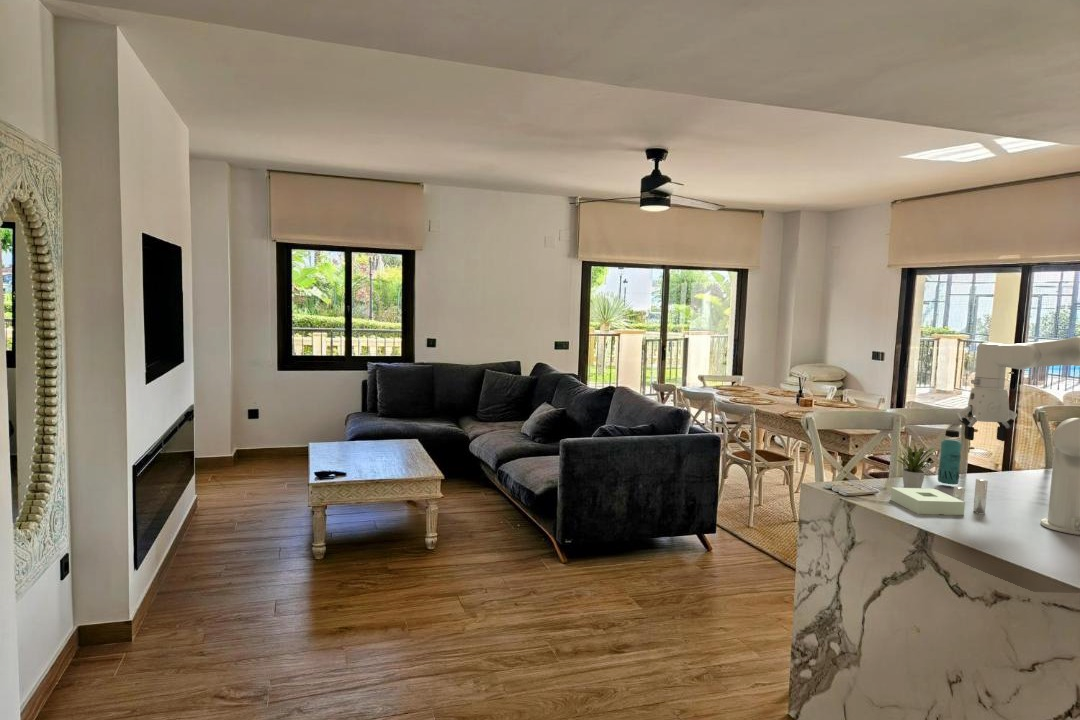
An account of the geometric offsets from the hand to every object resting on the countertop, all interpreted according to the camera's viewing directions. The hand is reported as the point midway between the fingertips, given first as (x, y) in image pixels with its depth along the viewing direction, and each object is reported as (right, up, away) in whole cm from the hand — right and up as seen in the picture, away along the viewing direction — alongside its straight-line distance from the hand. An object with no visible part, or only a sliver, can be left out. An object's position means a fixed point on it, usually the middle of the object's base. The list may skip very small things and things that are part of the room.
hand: (985, 439), depth 200 cm
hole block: (-15, -22, +5) cm, 27 cm away
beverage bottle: (+9, -21, +32) cm, 39 cm away
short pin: (-1, -22, +11) cm, 24 cm away
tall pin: (-1, -22, +1) cm, 22 cm away
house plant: (-5, -20, +27) cm, 34 cm away
